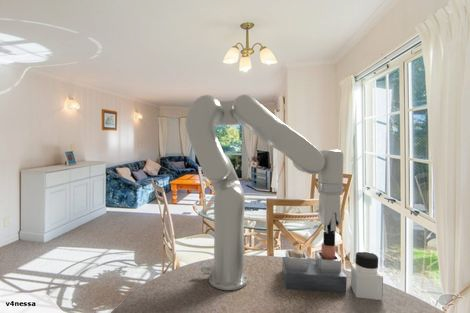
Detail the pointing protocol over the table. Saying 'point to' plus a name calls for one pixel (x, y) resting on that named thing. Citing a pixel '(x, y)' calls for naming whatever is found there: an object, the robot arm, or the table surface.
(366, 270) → the medicine bottle
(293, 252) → the beige ball
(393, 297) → the table surface
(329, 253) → the red plunger
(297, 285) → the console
